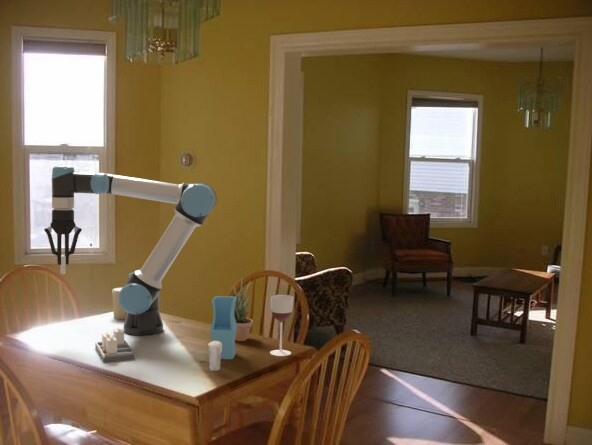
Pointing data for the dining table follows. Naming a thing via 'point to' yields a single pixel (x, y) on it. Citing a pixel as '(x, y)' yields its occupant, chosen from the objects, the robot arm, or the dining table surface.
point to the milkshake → (214, 355)
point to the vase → (224, 324)
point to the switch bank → (122, 353)
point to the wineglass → (281, 316)
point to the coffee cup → (118, 305)
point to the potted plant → (242, 315)
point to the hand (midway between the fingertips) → (63, 273)
